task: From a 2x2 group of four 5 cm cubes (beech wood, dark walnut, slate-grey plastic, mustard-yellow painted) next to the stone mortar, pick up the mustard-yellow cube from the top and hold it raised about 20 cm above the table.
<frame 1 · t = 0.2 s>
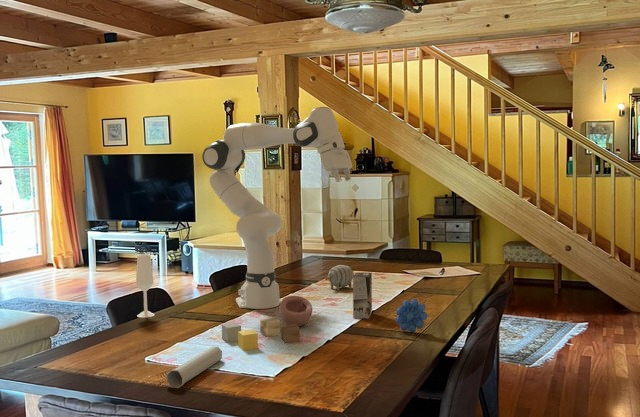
hand: (343, 181, 243), 52 cm above the table, tool tilted 20°, fingers open, 8 cm apart
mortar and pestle: (296, 326, 231), on the table
coffee box: (362, 315, 245), on the table
mustard cube: (248, 347, 206), on the table
walnut cube: (290, 341, 212), on the table
tube: (197, 373, 183), on the table
champagne flute: (145, 315, 249), on the table
grey cube: (231, 339, 215), on the table
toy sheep: (339, 289, 295), on the table
beech cube: (270, 334, 221), on the table
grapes: (412, 332, 222), on the table
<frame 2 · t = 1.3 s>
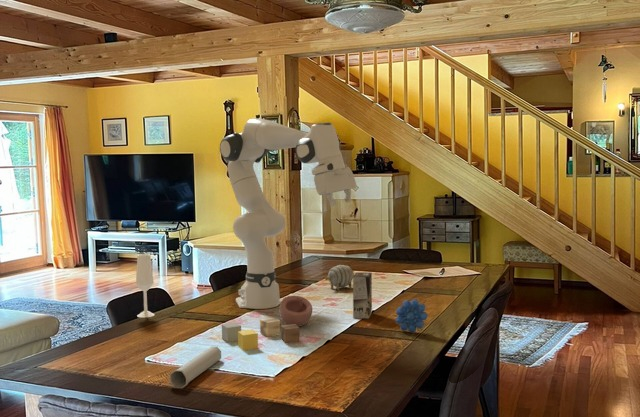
hand: (341, 204, 226), 44 cm above the table, tool pointing down, fingers open, 8 cm apart
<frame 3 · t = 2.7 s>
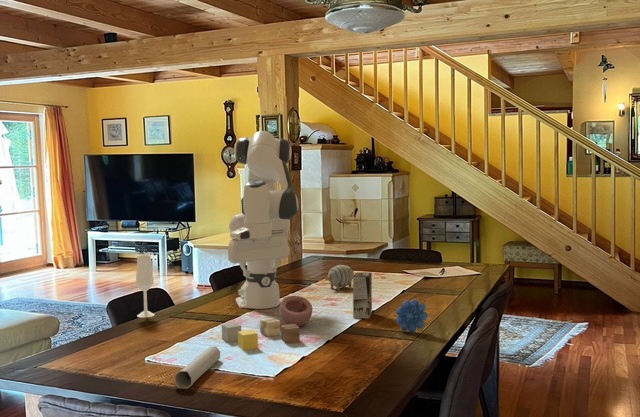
hand: (260, 274, 205), 24 cm above the table, tool pointing down, fingers open, 8 cm apart
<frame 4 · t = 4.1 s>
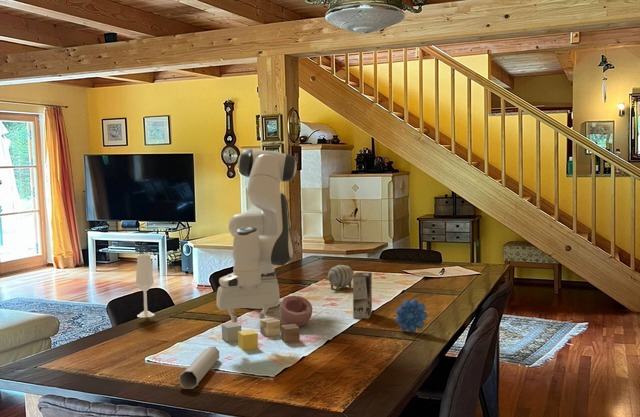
hand: (248, 320, 205), 9 cm above the table, tool pointing down, fingers open, 8 cm apart
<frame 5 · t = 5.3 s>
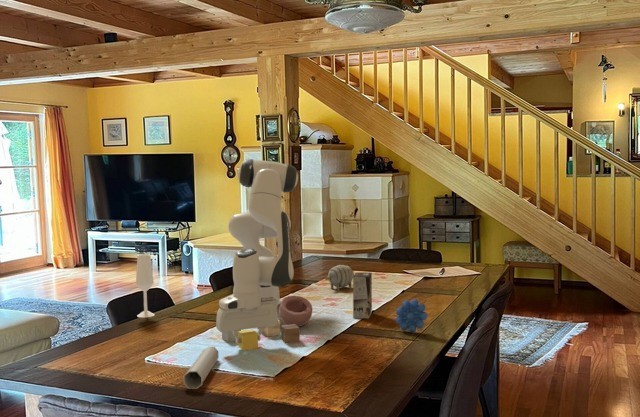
hand: (248, 341, 206), 2 cm above the table, tool pointing down, fingers closed on mustard cube, 5 cm apart
mustard cube: (248, 347, 206), on the table, touching gripper
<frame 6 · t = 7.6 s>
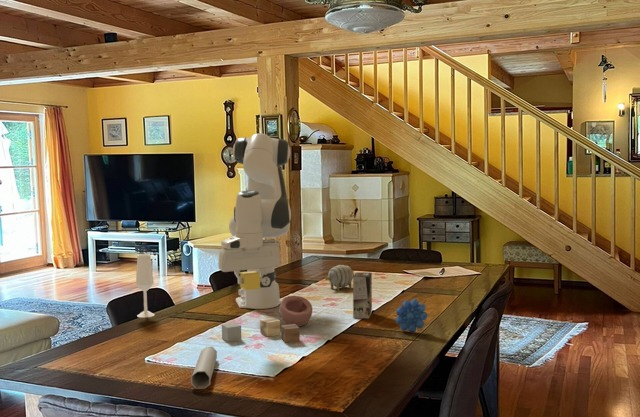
hand: (250, 282, 207), 21 cm above the table, tool pointing down, fingers closed on mustard cube, 5 cm apart
mustard cube: (250, 288, 207), point 19 cm above the table, touching gripper
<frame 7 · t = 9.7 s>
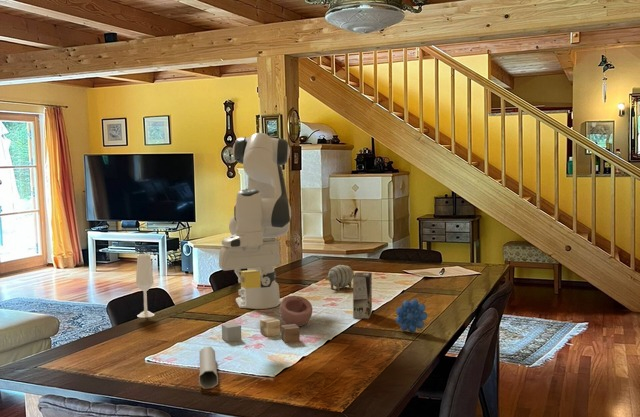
hand: (250, 281, 207), 21 cm above the table, tool pointing down, fingers closed on mustard cube, 5 cm apart
mustard cube: (250, 286, 207), point 19 cm above the table, touching gripper
at the end: the gripper is holding mustard cube; mustard cube point 19.3 cm above the table; walnut cube moved 0.1 cm from its start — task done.
